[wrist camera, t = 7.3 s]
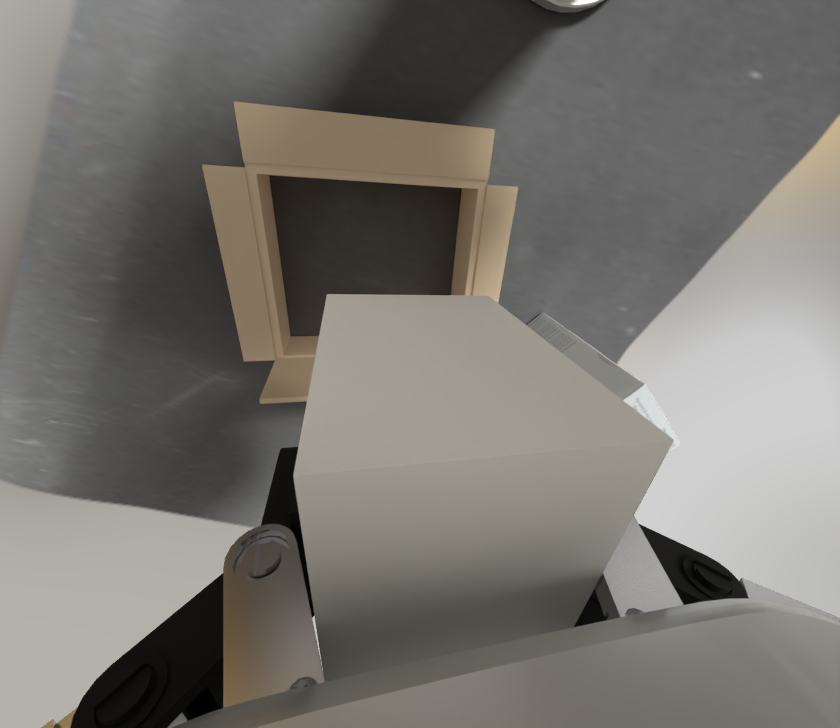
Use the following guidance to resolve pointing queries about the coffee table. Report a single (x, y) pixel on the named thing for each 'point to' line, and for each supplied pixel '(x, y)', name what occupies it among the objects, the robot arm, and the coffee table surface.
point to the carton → (352, 161)
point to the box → (456, 480)
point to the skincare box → (604, 371)
